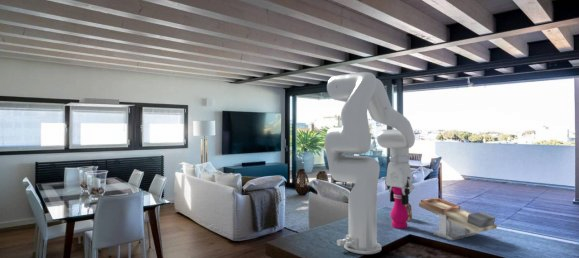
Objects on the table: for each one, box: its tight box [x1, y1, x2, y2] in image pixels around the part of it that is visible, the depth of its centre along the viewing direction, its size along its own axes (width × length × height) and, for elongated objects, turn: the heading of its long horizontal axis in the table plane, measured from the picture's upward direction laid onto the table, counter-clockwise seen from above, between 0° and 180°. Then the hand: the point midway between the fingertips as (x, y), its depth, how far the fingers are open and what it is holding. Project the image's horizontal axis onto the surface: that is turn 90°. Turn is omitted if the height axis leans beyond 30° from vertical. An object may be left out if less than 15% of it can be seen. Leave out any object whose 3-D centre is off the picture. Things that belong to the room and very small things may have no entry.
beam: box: [418, 197, 498, 234], centre depth 129 cm, size 12×25×4 cm, turn 28°
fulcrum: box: [433, 209, 478, 241], centre depth 129 cm, size 15×8×8 cm, turn 118°
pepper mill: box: [390, 187, 409, 229], centre depth 140 cm, size 7×7×20 cm
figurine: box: [405, 195, 413, 222], centre depth 152 cm, size 7×7×12 cm
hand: (398, 202), depth 139 cm, fingers closed on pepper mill, 5 cm apart
